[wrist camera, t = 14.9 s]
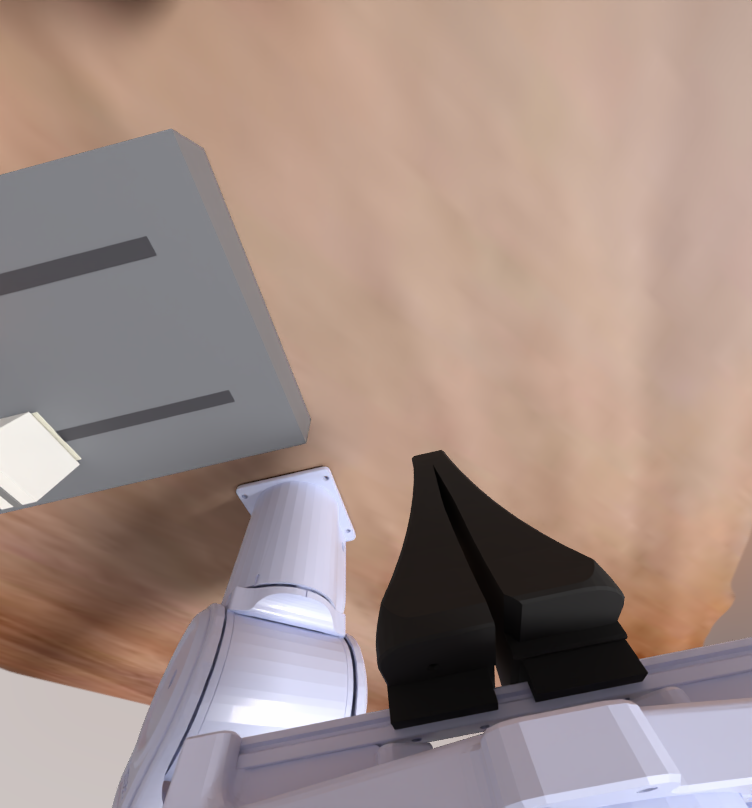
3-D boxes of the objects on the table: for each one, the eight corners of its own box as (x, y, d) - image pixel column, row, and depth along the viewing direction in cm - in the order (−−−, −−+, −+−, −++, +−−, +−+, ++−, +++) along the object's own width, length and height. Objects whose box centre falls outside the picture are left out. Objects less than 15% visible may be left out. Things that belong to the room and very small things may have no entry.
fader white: (80, 464, 19) (35, 502, 16) (50, 471, 19) (1, 510, 16) (28, 411, 17) (-33, 445, 14) (-5, 419, 17) (-72, 454, 14)
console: (310, 419, 22) (305, 443, 20) (13, 488, 23) (-31, 521, 20) (203, 148, 14) (170, 128, 12) (-248, 268, 15) (-375, 275, 12)
